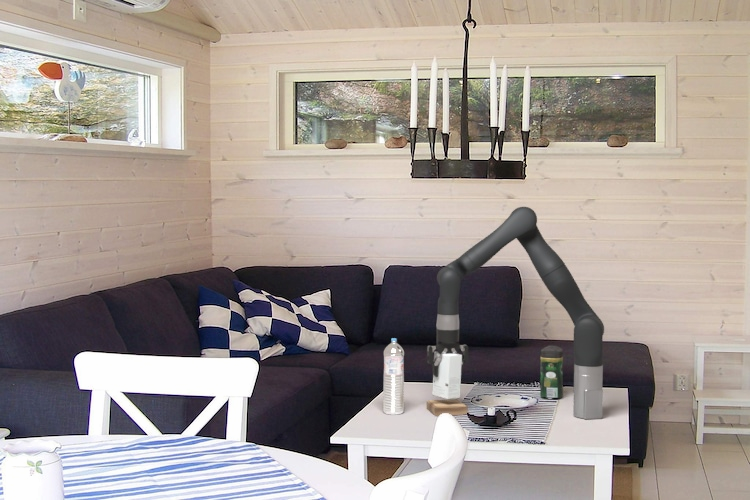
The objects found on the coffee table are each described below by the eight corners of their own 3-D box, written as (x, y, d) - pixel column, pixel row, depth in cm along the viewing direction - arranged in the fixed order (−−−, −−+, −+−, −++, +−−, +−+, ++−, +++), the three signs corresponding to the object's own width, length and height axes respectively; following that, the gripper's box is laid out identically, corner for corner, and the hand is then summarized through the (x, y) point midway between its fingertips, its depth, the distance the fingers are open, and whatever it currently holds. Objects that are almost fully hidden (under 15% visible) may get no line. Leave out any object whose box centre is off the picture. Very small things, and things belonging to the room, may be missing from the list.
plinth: (467, 414, 311) (467, 405, 311) (435, 416, 309) (435, 407, 309) (457, 407, 322) (457, 398, 322) (426, 408, 320) (426, 400, 319)
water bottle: (390, 409, 318) (391, 336, 317) (407, 412, 314) (408, 338, 313) (379, 413, 313) (379, 338, 311) (396, 416, 309) (396, 340, 307)
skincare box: (432, 395, 317) (432, 351, 316) (445, 393, 320) (445, 350, 319) (448, 399, 310) (448, 355, 309) (462, 397, 314) (462, 353, 313)
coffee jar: (542, 393, 345) (542, 343, 344) (563, 395, 343) (564, 344, 342) (538, 399, 336) (539, 347, 335) (560, 400, 334) (561, 348, 333)
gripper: (430, 329, 309) (429, 379, 310) (471, 328, 312) (471, 377, 313) (424, 326, 316) (423, 374, 317) (464, 325, 319) (464, 373, 320)
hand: (447, 376), depth 315 cm, fingers closed on skincare box, 7 cm apart
